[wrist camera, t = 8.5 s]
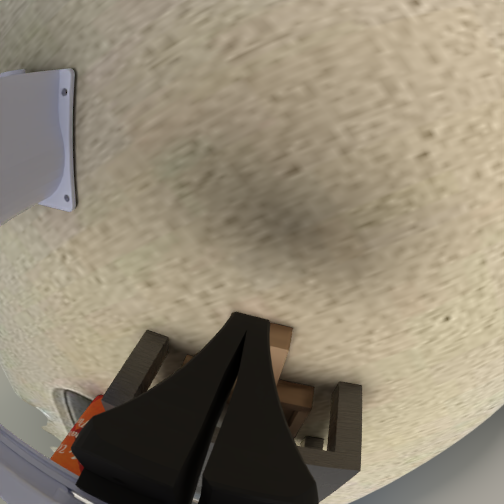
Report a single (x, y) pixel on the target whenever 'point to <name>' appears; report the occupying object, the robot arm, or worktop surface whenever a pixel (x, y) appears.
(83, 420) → the paper cup
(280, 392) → the tray
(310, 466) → the riser
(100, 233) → the worktop surface
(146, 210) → the worktop surface
